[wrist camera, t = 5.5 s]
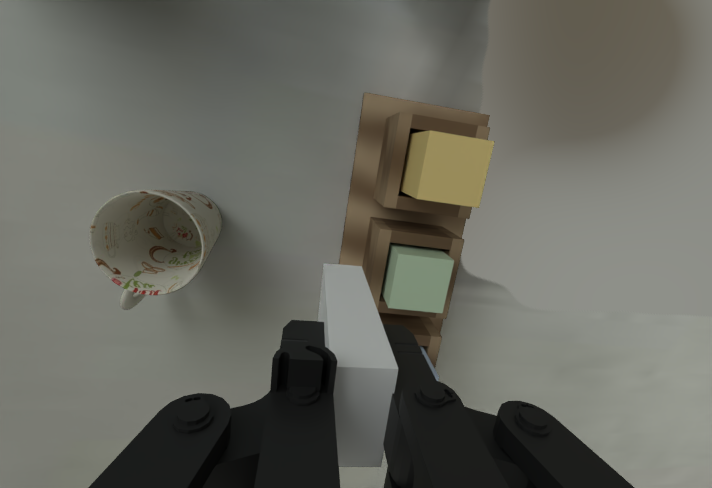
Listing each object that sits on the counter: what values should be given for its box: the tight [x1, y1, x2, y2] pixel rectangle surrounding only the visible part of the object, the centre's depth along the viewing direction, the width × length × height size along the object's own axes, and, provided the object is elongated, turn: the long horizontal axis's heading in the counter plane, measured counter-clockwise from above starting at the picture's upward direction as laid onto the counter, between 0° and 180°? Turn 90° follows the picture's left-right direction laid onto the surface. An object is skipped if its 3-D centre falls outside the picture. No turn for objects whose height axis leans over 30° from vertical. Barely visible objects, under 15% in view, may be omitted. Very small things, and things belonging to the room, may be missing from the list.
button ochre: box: [399, 130, 494, 208], centre depth 30 cm, size 5×5×7 cm
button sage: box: [381, 242, 454, 313], centre depth 35 cm, size 5×5×7 cm
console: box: [339, 93, 490, 369], centre depth 37 cm, size 32×13×7 cm, turn 171°
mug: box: [89, 190, 222, 310], centre depth 32 cm, size 8×13×10 cm, turn 150°
